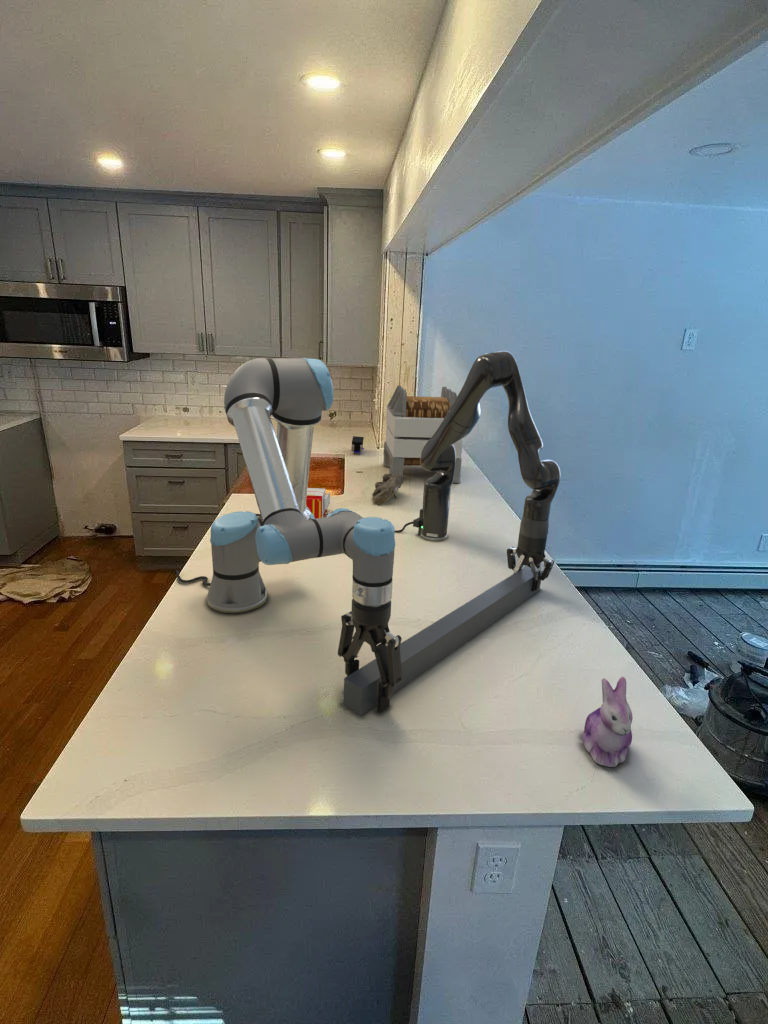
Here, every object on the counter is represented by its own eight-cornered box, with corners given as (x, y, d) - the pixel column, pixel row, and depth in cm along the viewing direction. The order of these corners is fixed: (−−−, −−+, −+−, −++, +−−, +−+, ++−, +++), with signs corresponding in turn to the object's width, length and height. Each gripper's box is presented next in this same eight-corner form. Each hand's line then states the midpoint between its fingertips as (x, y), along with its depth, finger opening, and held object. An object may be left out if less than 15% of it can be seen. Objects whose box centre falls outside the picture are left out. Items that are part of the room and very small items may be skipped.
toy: (331, 483, 220) (325, 497, 191) (330, 517, 223) (325, 535, 194) (299, 482, 220) (289, 496, 190) (299, 516, 223) (289, 534, 193)
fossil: (371, 479, 247) (398, 460, 242) (384, 495, 250) (412, 477, 245) (364, 500, 227) (394, 480, 222) (379, 517, 230) (409, 498, 225)
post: (524, 584, 167) (527, 565, 165) (539, 590, 164) (542, 570, 162) (343, 704, 113) (344, 678, 111) (361, 715, 110) (362, 689, 108)
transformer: (382, 463, 289) (386, 382, 275) (445, 464, 293) (451, 384, 279) (390, 482, 257) (394, 392, 243) (460, 483, 261) (468, 394, 247)
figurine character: (363, 457, 303) (363, 448, 316) (363, 444, 300) (364, 435, 313) (350, 457, 303) (351, 447, 316) (351, 444, 299) (352, 434, 313)
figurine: (610, 778, 98) (627, 706, 93) (567, 739, 106) (580, 672, 101) (647, 760, 102) (665, 691, 97) (603, 725, 110) (617, 659, 105)
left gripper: (319, 586, 111) (319, 684, 118) (401, 626, 98) (394, 733, 106) (346, 575, 116) (344, 669, 124) (427, 611, 103) (419, 713, 111)
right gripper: (503, 528, 157) (496, 583, 163) (551, 543, 149) (542, 600, 154) (516, 521, 163) (509, 575, 169) (564, 535, 154) (554, 591, 160)
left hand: (367, 698), depth 115 cm, fingers open, 8 cm apart
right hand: (525, 587), depth 161 cm, fingers closed on post, 5 cm apart
